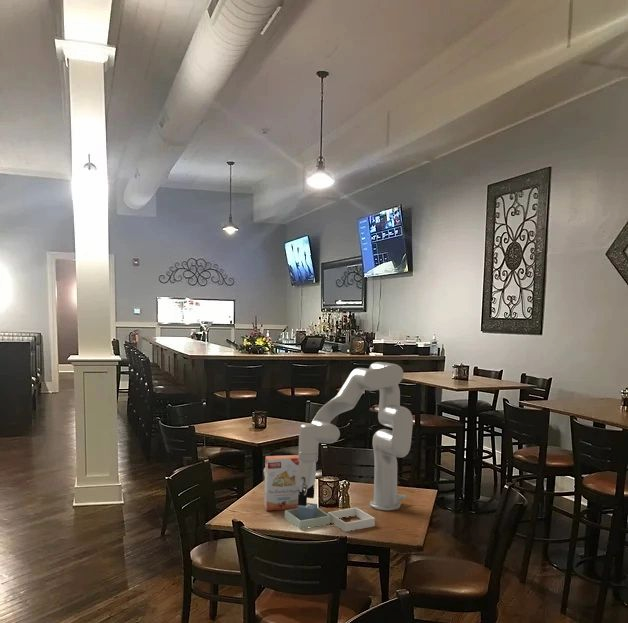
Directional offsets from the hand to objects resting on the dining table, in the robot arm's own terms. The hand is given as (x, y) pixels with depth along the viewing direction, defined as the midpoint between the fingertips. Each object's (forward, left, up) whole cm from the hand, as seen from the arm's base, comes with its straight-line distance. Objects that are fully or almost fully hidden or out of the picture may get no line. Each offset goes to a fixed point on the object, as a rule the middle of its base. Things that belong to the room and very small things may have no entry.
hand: (306, 501), depth 211 cm
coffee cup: (-1, -33, -8) cm, 33 cm away
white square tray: (-15, +9, -8) cm, 19 cm away
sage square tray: (-1, 0, -8) cm, 8 cm away
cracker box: (+2, -18, -8) cm, 19 cm away
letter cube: (-1, 0, -8) cm, 8 cm away
